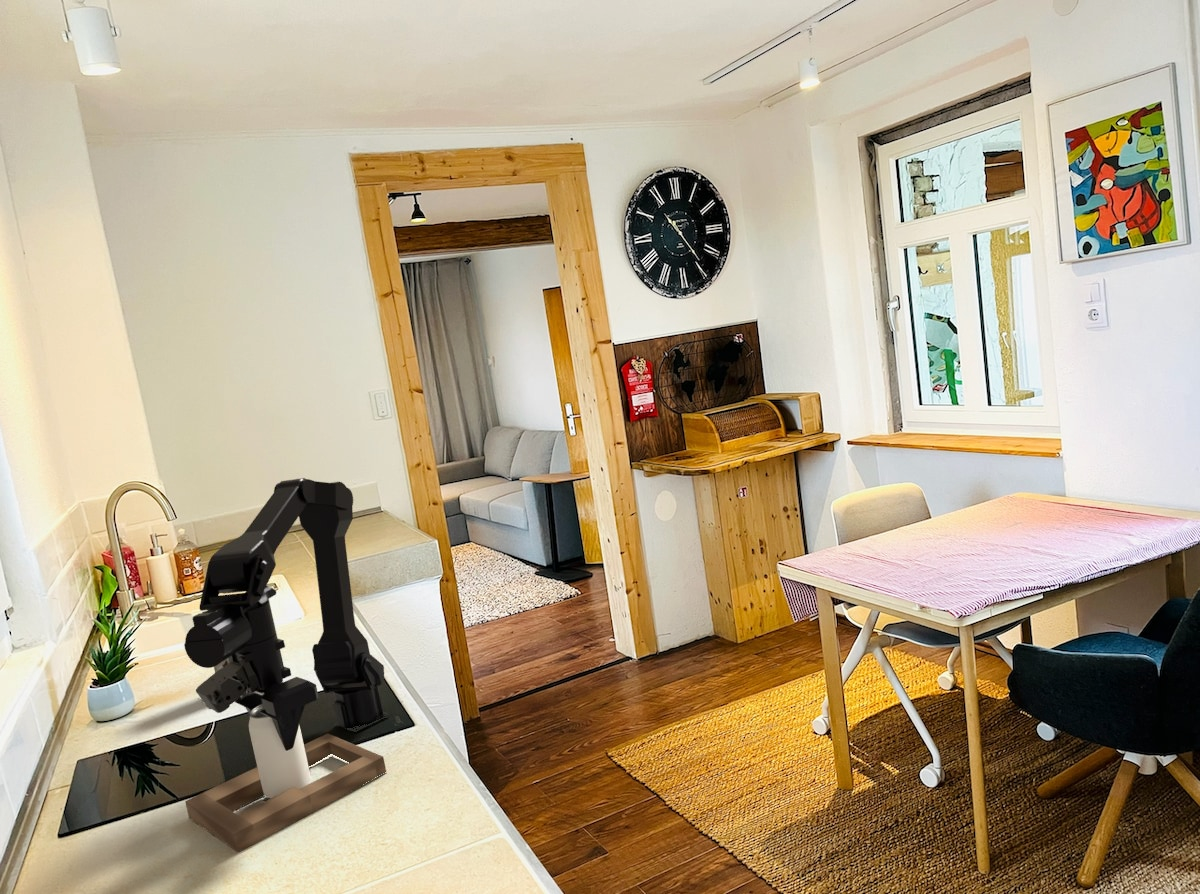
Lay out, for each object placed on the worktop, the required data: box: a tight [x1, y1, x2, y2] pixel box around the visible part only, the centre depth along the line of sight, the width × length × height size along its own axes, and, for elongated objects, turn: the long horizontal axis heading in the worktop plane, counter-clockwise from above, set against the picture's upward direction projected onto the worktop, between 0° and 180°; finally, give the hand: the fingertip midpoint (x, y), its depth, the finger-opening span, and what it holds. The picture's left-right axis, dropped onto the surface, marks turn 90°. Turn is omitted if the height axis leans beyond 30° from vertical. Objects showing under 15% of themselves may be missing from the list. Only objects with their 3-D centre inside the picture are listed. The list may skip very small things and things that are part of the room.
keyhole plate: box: [185, 733, 387, 853], centre depth 131 cm, size 22×16×2 cm
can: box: [248, 704, 312, 800], centre depth 130 cm, size 6×6×12 cm
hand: (278, 744), depth 130 cm, fingers closed on can, 6 cm apart
